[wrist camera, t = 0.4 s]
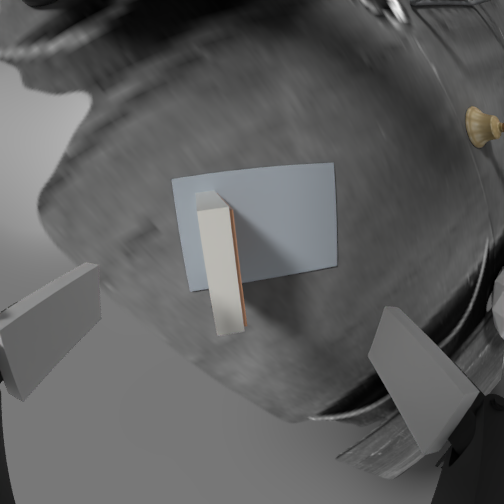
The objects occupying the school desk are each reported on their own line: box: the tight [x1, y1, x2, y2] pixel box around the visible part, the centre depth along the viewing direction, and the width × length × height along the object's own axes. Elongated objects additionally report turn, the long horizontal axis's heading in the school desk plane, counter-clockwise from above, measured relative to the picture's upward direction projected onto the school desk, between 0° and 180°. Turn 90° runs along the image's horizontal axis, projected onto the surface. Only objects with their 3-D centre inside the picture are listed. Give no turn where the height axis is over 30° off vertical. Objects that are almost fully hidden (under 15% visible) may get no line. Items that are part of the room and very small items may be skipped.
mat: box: [172, 163, 337, 292], centre depth 35 cm, size 20×14×1 cm
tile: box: [195, 191, 247, 336], centre depth 28 cm, size 2×10×14 cm, turn 6°
